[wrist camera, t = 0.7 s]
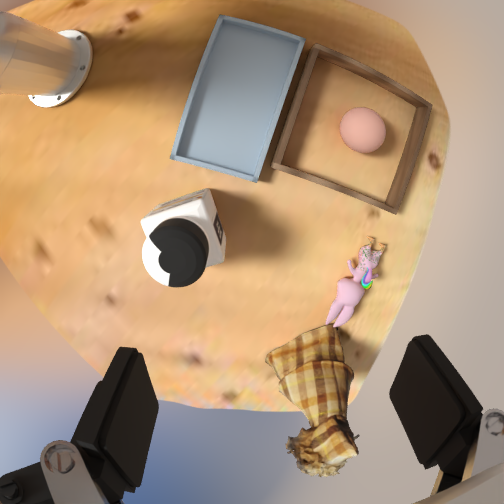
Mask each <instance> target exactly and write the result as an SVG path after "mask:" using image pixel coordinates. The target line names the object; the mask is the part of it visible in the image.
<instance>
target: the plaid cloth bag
mask: <svg viewBox="0 0 504 504" xmlns="http://www.w3.org/2000/svg"><path fill="white" fill-rule="evenodd" d="M333 325H334V324H331V325H330V324H329V325H326V326H323V327H321V328H318V329H315V330H312V331H309V332H306V333H304V334H302V335H300V336H298V337H297V338H295V339H294V340H292V341H291V342H289V343H288V344H286V345H284V346H282V347H280V348H277V349H276V350H274V351H272V352H270V353H269V354H268V355H267V357H266V363H267V364H269V365H270V366H271V367H272V368H273V370H274V372H275V374H276V375H277V377H278V378H279V379H280V382H279V392H281V393H282V394H283V395H284V396H285V397H287V398H288V399H289V400H290V401H291V402H292V403H293V404H295V405H296V406H297V407H298V408H299V409H300V410H301V411H302V412H303V413H304V414H305V416H306V417H307V418H308V420H309V424H310V426H311V428H310V429H307V430H305V429H304V428H302V429H301V431H300V433H299V435H298V436H297V437H295V438H293V437H288V442H287V444H286V449H288V450H290V451H289V452H287V453H288V454H289V453H292V454H293V455H294V456H295V458H297V466H298V468H299V469H300V470H301V471H302V472H303V473H306V474H309V475H311V476H314V475H317V474H319V476H320V477H321V476H325V477H327V476H330V475H333V476H334V475H336V474H339V473H338V472H337V471H338V470H339V469H340V468H341V467H343V466H344V465H345V463H346V462H347V461H346V459H348V458H351V457H353V456H357V455H358V448H357V447H356V444H355V442H354V440H355V439H356V438H358V437H359V435H357V436H356V437H353V435H354V434H353V432H352V431H351V429H350V427H349V424H348V421H347V402H348V396H349V390H350V384H351V382H352V380H353V379H354V373H353V370H352V369H351V368H350V367H349V366H348V365H346V364H345V363H344V355H343V348H342V346H341V342H340V339H339V335H338V333H337V330H338V328H337V327H333ZM292 450H294V451H292Z"/></svg>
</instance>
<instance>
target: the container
mask: <svg viewBox="0 0 504 504" xmlns="http://www.w3.org/2000/svg"><path fill="white" fill-rule="evenodd" d="M141 225H142V227H143V230H144V232H145V235H146V237H147V239H146V241H145V243H144V245H143V250H142V258H143V263H144V265H145V268H146V270H147V271H148V273H149V274H150V275H151V276H152V277H153V278H154V279H155V280H156V281H158V282H160V283H161V284H164V285H166V286H170V287H184V286H188V285H190V284H192V283H194V282H195V281H197V280H198V279H199V278H200V277H201V275H202V274H203V272H204V270H205V268H206V267H209V266H213V265H216V264H220V263H222V262H224V258H225V248H226V236H225V233H224V230H223V227H222V224H221V221H220V218H219V215H218V212H217V209H216V206H215V203H214V200H213V197H212V194H211V191H210V189H208V188H206V189H203V190H199V191H196V192H193V193H190V194H187V195H184V196H182V197H179V198H176V199H173V200H170V201H167V202H164V203H162V204H159V205H157V206H156V207H155V208H154V209H153V210H152V211H150V212H149V213H148V214H147V215H146V216H145V217H144V218H143V219H142V220H141Z"/></svg>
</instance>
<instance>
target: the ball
mask: <svg viewBox="0 0 504 504" xmlns="http://www.w3.org/2000/svg"><path fill="white" fill-rule="evenodd" d="M340 134H341V137H342V139H343V141H344V142H345V144H346V145H347V146H348V147H349V148H351V149H352V150H354V151H357V152H360V153H369V152H372V151H375V150H377V149H378V148H379V147H380V146H381V145H382V144H383V142H384V139H385V136H386V128H385V124H384V122H383V120H382V118H381V117H380V116H379V115H378V114H377V113H376V112H375V111H373V110H371V109H369V108H365V107H357V108H353V109H351V110H349V111H348V112H347V113H346V114H345V115H344V116H343V117H342V119H341V122H340Z"/></svg>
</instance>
